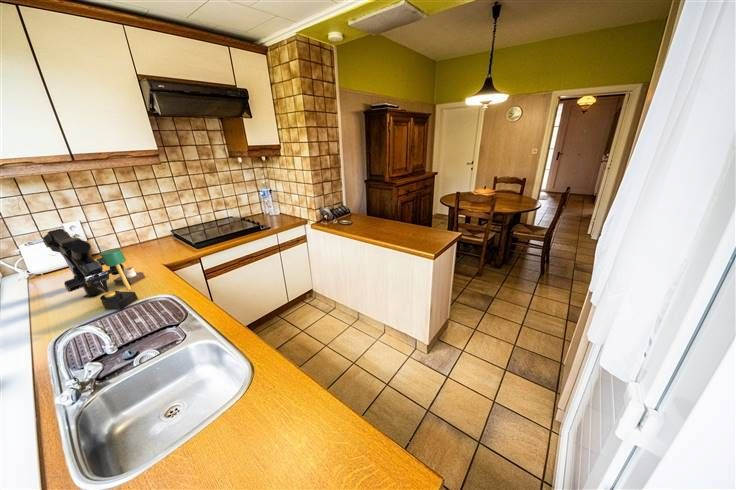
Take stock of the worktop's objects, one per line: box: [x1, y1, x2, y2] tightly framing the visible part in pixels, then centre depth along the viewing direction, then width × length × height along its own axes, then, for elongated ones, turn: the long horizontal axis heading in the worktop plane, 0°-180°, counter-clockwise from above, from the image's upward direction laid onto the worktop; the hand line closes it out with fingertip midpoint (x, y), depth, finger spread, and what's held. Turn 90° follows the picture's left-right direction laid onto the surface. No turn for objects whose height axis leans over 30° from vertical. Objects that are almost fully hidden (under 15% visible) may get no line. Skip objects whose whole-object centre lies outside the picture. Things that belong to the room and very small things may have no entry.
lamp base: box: [99, 290, 139, 311], centre depth 117 cm, size 9×9×6 cm
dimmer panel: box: [113, 271, 146, 286], centre depth 138 cm, size 10×9×3 cm
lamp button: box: [103, 290, 116, 298], centre depth 115 cm, size 4×4×3 cm
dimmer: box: [123, 266, 137, 278], centre depth 136 cm, size 4×4×4 cm
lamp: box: [100, 247, 132, 291], centre depth 115 cm, size 6×6×19 cm
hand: (107, 291), depth 115 cm, fingers closed, pressing on lamp button
